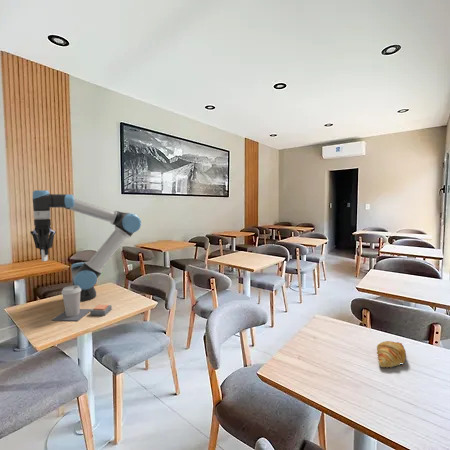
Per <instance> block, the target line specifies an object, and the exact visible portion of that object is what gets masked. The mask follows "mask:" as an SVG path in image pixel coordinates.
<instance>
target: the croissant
mask: <svg viewBox="0 0 450 450" xmlns="http://www.w3.org/2000/svg"><path fill="white" fill-rule="evenodd" d="M376 354H378V355H377V359H378V360H377V361H378V366H379V367H380V368H385V367H386V368H388V367H390V368H393V367H392V366H397V365H399V364H400V363H404V364H405V360H406V357H407V354H406V349H405V347H404V345H403V343H400V342H399V341H397V342H394V341H392V340H388V341H387V340H385V341H382V342H380V343H379V344H377V346H376ZM399 366H400V365H399ZM397 367H398V366H397Z"/></svg>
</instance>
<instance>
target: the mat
mask: <svg viewBox="0 0 450 450" xmlns="http://www.w3.org/2000/svg"><path fill="white" fill-rule="evenodd" d="M92 309H93V308H80V312H79V314H78V315H76V316H72V317H67V316H66V313H65V310H64V311H63V312H61V313H60V314H58V315H56V316H55V317H54V318H52V319H51V321H53V322H79V321H80V320H81V319H83V317H85V316H86V315H88V314H89V313H91V312H90V311H91V310H92Z"/></svg>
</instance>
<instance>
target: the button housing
mask: <svg viewBox="0 0 450 450" xmlns="http://www.w3.org/2000/svg"><path fill="white" fill-rule="evenodd" d="M98 305H99V304H98ZM98 305H96V306H98ZM107 305H108V307H107V308H106V309H105V310H94V308H95V307H94V308H91V309H92V310H91V311H90V312H89V313H90V316H98V317H99V316H101V317H102V316H103V317H104V316H106V315H108V313H111V310H112V309H113V307H112V305H111V304H107Z"/></svg>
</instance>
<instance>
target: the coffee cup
mask: <svg viewBox="0 0 450 450" xmlns="http://www.w3.org/2000/svg"><path fill="white" fill-rule="evenodd" d="M80 292H81V288H80V286H77V285H74V286H73V285H69V286H65V287H63V288H62V290H61V292H60V293H61V295H62V299H63V300H62V301H63V305H64V311H65V313H66V316H67V317H72V316H76V315H78V314H79V312H80V309H81V308H80V307H81V301H80Z"/></svg>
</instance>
